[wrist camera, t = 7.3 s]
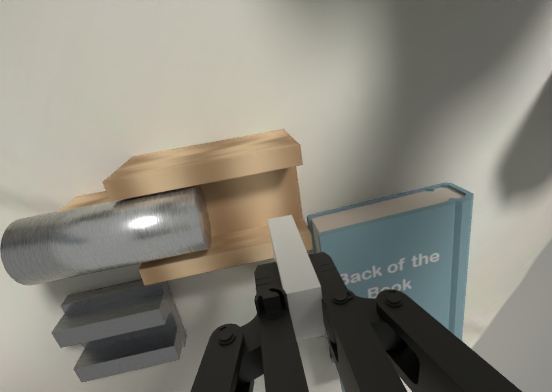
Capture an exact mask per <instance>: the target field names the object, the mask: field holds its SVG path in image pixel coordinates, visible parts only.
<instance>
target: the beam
mask: <svg viewBox="0 0 552 392" xmlns="http://www.w3.org/2000/svg"><path fill="white" fill-rule="evenodd" d="M299 165H303V164H302V156H301V148H300V144H299V143H298V142H296V141H295V140H294V139H293V138H292V137H291V136H290V135H289V134H288V133H287V132H286V131H285V130H284V129H282V130H277V131H271V132H266V133H260V134H255V135H249V136H244V137H238V138H233V139H227V140H222V141H216V142H211V143H205V144H200V145H194V146H189V147H184V148H178V149H173V150H167V151H162V152H156V153H151V154H145V155H140V156H134V157H132V158H131V159H129V160H128V161H127V162H126V163H125V164H123V165H122V166H121V167H120V168H119V169H118V170H116V171H115V172H114V173H113V174H112V175H110V176H109V177H108V178H107V179H106V180H104V181H103V184H104V187H105V189H106V191H105V192H99V193H94V194H89V195H84V196H78V197H76V198H75V199H73V200H72V201H71V202H70V203H68V204H67V205H66V206H65V207H63V208H62V209H61V210H60V211H64V210H69V209H74V208H79V207H85V206H90V205H95V204H100V203H106V202H112V201H117V200H122V199H127V198H132V197H138V196H143V195H148V194H153V193H158V192H164V191H169V190H174V189H179V188H184V187H190V186H195V185H198V186H199V187H200V189H201V191H202V193H203V196H204V198H205V202H206V205H207V209H208V214H209V219H210V226H211V247H210V249H207V250H202V251H197V252H192V253H187V254H182V255H177V256H172V257H168V258H163V259H158V260H153V261H148V262H143V263H142V264H141V266H140V268H139V273H140V275H141V278H142V280H143V283H144V285H150V284H154V283H159V282H164V281H168V280H173V279H177V278H182V277H187V276H191V275H196V274H201V273H205V272H210V271H215V270H219V269H224V268H229V267H233V266H238V265H243V264H247V263H252V262H257V261H261V260H266V259H271V258H274V254H273V248H272V243H271V237H270V231H269V225H268V220H267V219H272V218H277V217H282V216H288V215H292V216H293V219H294V221H295V224H296V226H297V229H298V231H299V234H300V236H301V239H302V241H303V244H304V246H305V248H306V251H308V250H312V249H313V246H312V238H311V233H310V231H309V229H308V227H307V225H306V223H305V221H304V219H303V216H302V208H301V201H300V193H299V186H298V178H297V170H296V166H299ZM58 212H59V211H58Z"/></svg>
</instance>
